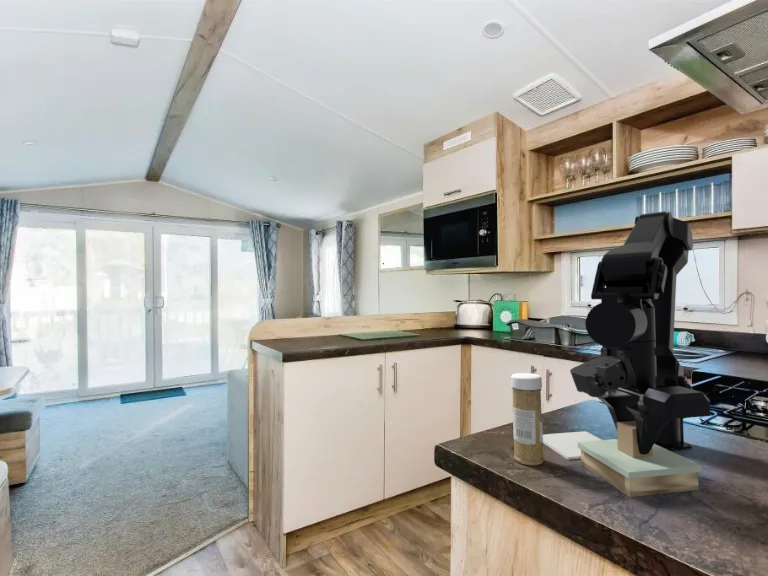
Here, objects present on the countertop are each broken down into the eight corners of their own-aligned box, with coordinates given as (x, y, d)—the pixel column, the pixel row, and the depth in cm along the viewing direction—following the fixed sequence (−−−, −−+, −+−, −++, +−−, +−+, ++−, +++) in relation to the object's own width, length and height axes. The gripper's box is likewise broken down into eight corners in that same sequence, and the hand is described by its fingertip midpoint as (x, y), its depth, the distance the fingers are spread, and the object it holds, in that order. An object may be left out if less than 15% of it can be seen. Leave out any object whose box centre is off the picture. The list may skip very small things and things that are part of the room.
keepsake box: (640, 459, 63) (639, 443, 63) (698, 489, 53) (697, 470, 53) (581, 464, 62) (580, 448, 62) (629, 497, 52) (629, 477, 52)
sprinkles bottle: (550, 461, 63) (547, 375, 63) (531, 469, 61) (529, 379, 61) (525, 452, 67) (523, 370, 67) (507, 459, 65) (504, 374, 65)
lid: (640, 442, 64) (639, 411, 64) (701, 471, 53) (700, 434, 53) (577, 447, 62) (576, 416, 62) (628, 478, 52) (627, 441, 52)
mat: (585, 433, 75) (585, 431, 75) (625, 454, 65) (625, 452, 65) (535, 437, 74) (535, 435, 74) (567, 459, 64) (567, 457, 64)
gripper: (543, 335, 66) (546, 431, 66) (628, 351, 48) (632, 485, 47) (606, 332, 68) (609, 426, 67) (712, 347, 49) (716, 476, 49)
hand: (634, 449), depth 58 cm, fingers closed on lid, 3 cm apart
